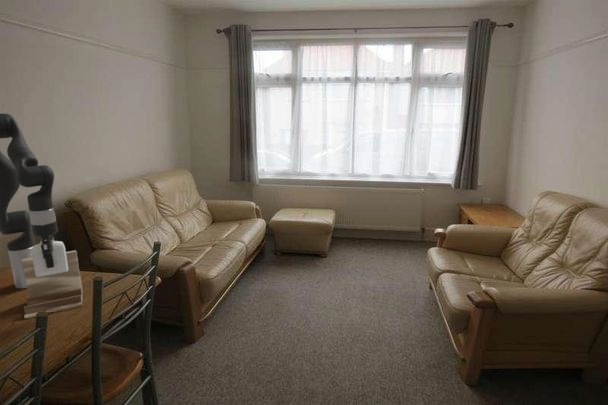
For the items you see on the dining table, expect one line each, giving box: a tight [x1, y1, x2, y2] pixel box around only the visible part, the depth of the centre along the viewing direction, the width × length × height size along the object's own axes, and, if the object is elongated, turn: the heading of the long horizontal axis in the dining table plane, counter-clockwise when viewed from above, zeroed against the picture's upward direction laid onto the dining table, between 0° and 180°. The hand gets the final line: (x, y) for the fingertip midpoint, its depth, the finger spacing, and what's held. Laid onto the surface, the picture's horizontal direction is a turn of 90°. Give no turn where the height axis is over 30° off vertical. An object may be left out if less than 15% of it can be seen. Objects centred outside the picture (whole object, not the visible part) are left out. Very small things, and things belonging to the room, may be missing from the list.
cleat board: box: [22, 250, 83, 319], centre depth 143 cm, size 16×18×18 cm
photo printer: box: [32, 240, 68, 277], centre depth 135 cm, size 10×4×12 cm, turn 124°
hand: (51, 264), depth 136 cm, fingers closed on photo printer, 4 cm apart
